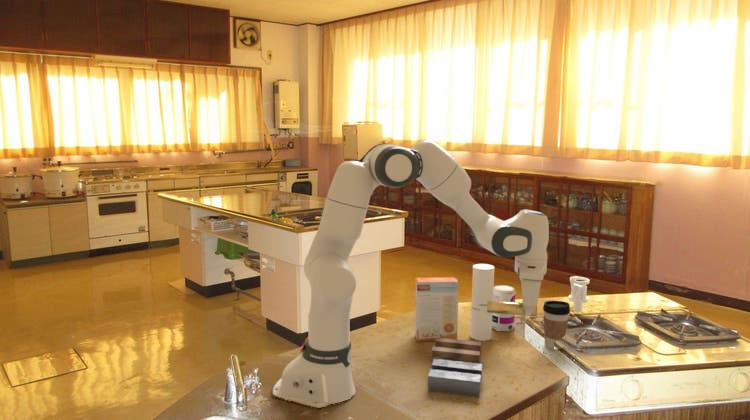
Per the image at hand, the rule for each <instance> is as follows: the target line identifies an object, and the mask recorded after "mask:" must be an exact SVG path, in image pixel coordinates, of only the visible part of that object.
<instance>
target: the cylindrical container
mask: <svg viewBox="0 0 750 420" xmlns="http://www.w3.org/2000/svg"><path fill="white" fill-rule="evenodd" d="M471 279H472V280H471V281H472V282H471V283H472V284H471V307H470V311H471V313H470V333H469V335H470V338H471V339H472V338H473V339H472V340H474V339H475V340H474V341H478V340H479V341H478V342H486V341H485V340H487V341H490V340H491V339H492V336H493V335H492V333H493V331H492V329H493V328H492V313H487V303H488V300H490V301H493V290H494V287H495V266H494V265H492V264H489V263H477V264H473V265H472V278H471Z"/></svg>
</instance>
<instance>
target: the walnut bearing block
mask: <svg viewBox="0 0 750 420" xmlns="http://www.w3.org/2000/svg"><path fill="white" fill-rule="evenodd" d="M481 357H482V341H477V340H474V341H473V340H465V339H458V338H457V339H447V338H437V337H436V340H435V341H434V346H432V348H431V363H430V364H431V367H430V369H432V363H433V360H434V359H442V360H451V361H460V362H469V363H478V364H481V360H482V359H481Z"/></svg>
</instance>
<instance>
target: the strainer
mask: <svg viewBox="0 0 750 420" xmlns="http://www.w3.org/2000/svg"><path fill="white" fill-rule="evenodd" d="M569 282H570V284H569V285H570V287H571V290H570V294H569V295H568V300H569V301H570V302H573V310H574V311H577V312H580V311H582V310H583V304H584V303H585V304H586V303H588V302H589V297H588V296H587V290H588V286H587V285H589V284H590V279H589V278H587V277H583V276H577V275H575V276H570V277H569Z"/></svg>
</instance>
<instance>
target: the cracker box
mask: <svg viewBox="0 0 750 420" xmlns="http://www.w3.org/2000/svg"><path fill="white" fill-rule="evenodd" d="M459 283H460V281H458V279H457V278H456V277H453V276H452V277H451V276H449V277H447V276H445V277H415V297H414V298H415V301H414V302H415V303H414V306H415V309H414V311H415V312H414V313H415V314H414V315H415V318H414V321H415V322H414V323H415V324H414V333H415V334H414V336H415V339H416V342H435V340H436V337H437V338H447V339H457V340H458V322H459V321H458V317H459V315H458V314H459V311H458V310H459Z"/></svg>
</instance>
